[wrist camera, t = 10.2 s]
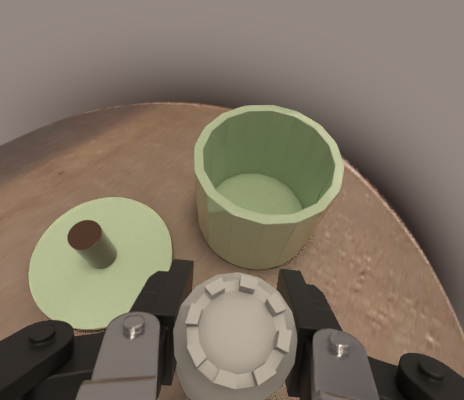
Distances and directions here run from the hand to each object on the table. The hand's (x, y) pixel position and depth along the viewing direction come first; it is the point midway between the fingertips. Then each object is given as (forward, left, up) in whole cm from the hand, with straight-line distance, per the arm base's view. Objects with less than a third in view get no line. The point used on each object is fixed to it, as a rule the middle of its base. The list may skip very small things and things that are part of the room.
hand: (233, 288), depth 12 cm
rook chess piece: (0, -2, -4) cm, 5 cm away
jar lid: (-14, +4, -18) cm, 23 cm away
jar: (-1, +14, -19) cm, 23 cm away
